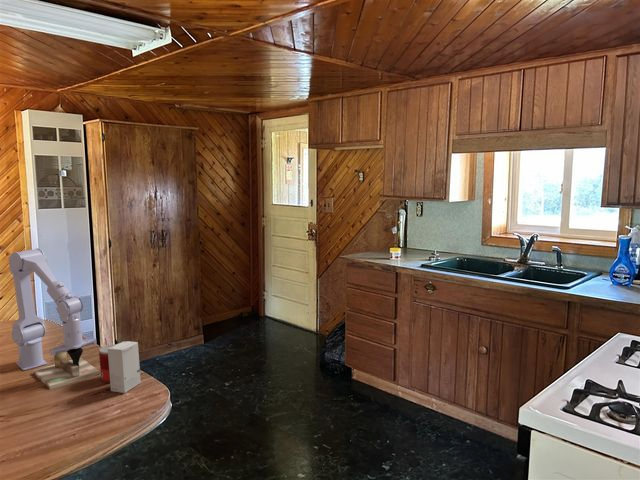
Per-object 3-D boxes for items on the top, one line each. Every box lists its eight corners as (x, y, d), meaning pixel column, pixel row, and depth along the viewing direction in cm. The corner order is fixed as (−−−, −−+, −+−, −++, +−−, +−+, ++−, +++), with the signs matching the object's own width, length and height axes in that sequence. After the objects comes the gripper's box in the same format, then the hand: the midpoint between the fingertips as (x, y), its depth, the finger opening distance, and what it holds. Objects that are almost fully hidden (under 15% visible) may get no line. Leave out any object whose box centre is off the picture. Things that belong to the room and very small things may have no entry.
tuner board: (33, 373, 167) (33, 370, 167) (80, 360, 179) (80, 357, 178) (50, 389, 155) (49, 385, 155) (99, 374, 166) (99, 370, 166)
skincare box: (124, 394, 151) (121, 350, 149) (109, 391, 153) (106, 348, 151) (141, 382, 159) (139, 341, 157) (127, 380, 161) (124, 339, 159)
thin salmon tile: (83, 373, 164) (83, 373, 164) (79, 372, 165) (79, 372, 165) (90, 370, 167) (90, 369, 167) (86, 369, 168) (86, 369, 168)
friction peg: (53, 365, 170) (52, 352, 169) (64, 362, 173) (63, 349, 172) (70, 377, 160) (69, 363, 159) (82, 373, 163) (81, 360, 162)
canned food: (116, 384, 159) (114, 353, 157) (96, 382, 160) (93, 351, 159) (130, 374, 166) (128, 345, 164) (110, 372, 168) (108, 343, 166)
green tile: (49, 382, 157) (49, 382, 157) (50, 378, 160) (50, 378, 160) (66, 379, 159) (66, 379, 159) (67, 376, 162) (67, 375, 162)
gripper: (53, 340, 155) (57, 378, 157) (98, 328, 165) (101, 365, 167) (46, 335, 160) (50, 372, 162) (90, 324, 170) (94, 360, 172)
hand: (76, 368), depth 165 cm, fingers closed, pressing on friction peg
